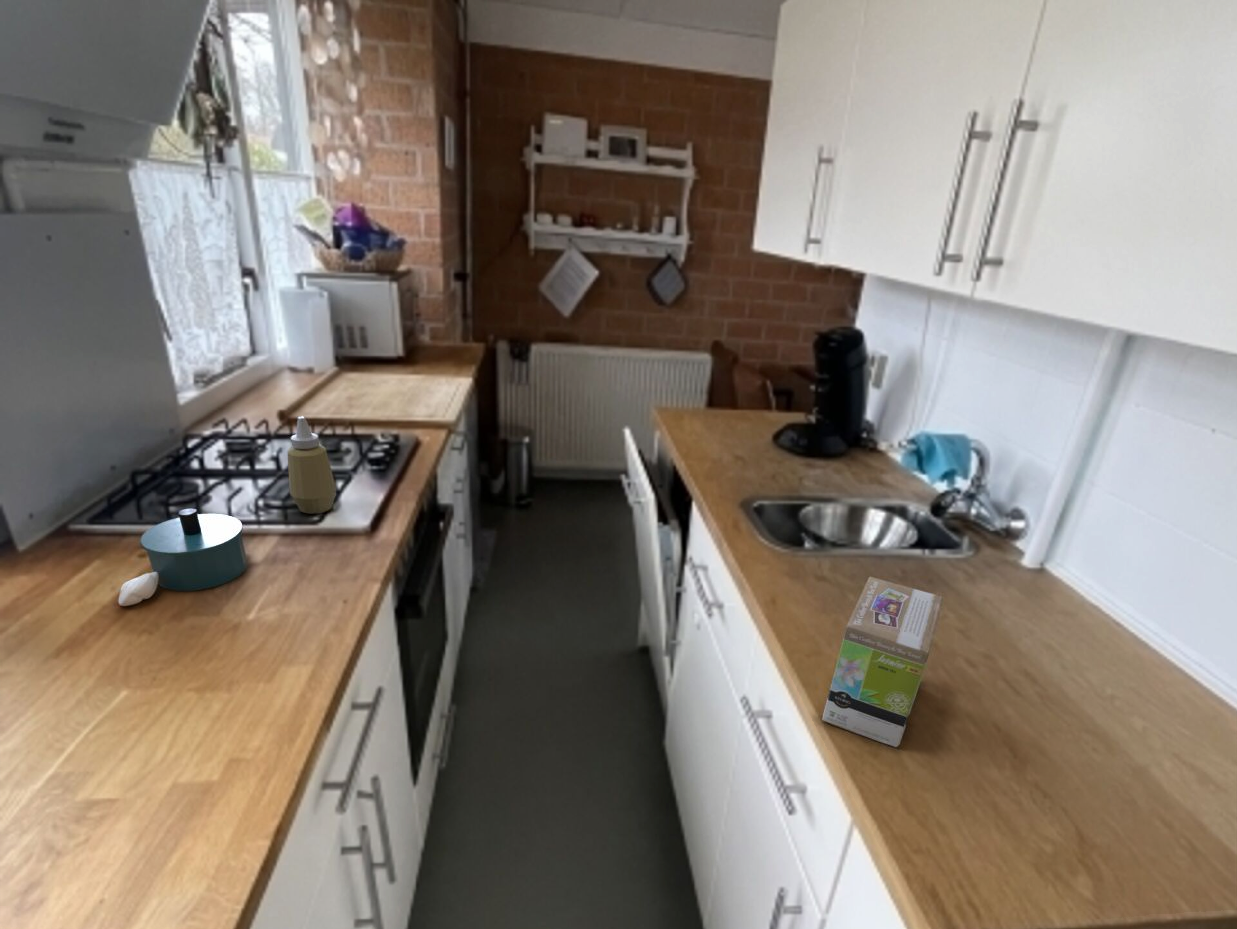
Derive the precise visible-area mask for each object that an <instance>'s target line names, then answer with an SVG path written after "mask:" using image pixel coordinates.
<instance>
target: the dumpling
mask: <svg viewBox="0 0 1237 929" xmlns="http://www.w3.org/2000/svg"><path fill="white" fill-rule="evenodd" d="M158 585H159V584H158V573H157V572H153V571H152V572H146V573H144V574H141V575H140V576H137V577H135V578H132V579H130V580H128V581H126V582H124V583H123V584H122V586H121V588H120V589H119V596H118V601H117V602H118V605H119V606H121V607H127V606H133V605H136V604H139V603H140V602H142V601H143V600H147V599H150V598H151V597H153V595H154V594H155V592H156V590H157V587H158Z"/></svg>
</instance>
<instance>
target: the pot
mask: <svg viewBox="0 0 1237 929" xmlns="http://www.w3.org/2000/svg"><path fill="white" fill-rule="evenodd" d="M245 549H246V548H245V545H244V541H243V536H242V533H241V534H240V535H239V536H238V537H237V538H236V539H235V540H233V541H232V542H230V543H228V544H226V545H224V546H221V547H219V548H216V549H213V550H209V551H205V552H201V553H195V554H188V555H160V554H155V553H151V552H149V551H147V550H146V552H147V556H148V559H149V563H150V567H151V569H152V572H157V573H158V584H157V585H159V586H160V587H162V588H164V589H166V590H170V591H175V592H176V591H177V592H193V591H201V590H206V589H210V588H215V587H217V586H221V585H223V584H226V583H229V582H231V581H233V580H235V579H236V578H238V577H239V576H240V575H242V574H243V573H244V572H245V570H246V569H247V567H248V566H247V565H248V563H247V562H248V558H247V554H246V550H245Z"/></svg>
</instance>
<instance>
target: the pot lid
mask: <svg viewBox="0 0 1237 929" xmlns="http://www.w3.org/2000/svg"><path fill="white" fill-rule="evenodd" d="M242 532H243V524H242V522H241V521H240V520H239V519H237V518H236V517H233V516H230V515H228V514H227V515H226V514H220V513H219V514H218V513H200V514H199V513H198V511H197V509H196V508H185V509H182V510H180V511H178V517H176V518H173V519H172V518H171V519H169V520H166V521H163V522H161V523H158V524H156V525H153V526H152V527H150V528H149V529H147V530H146V531H145V532H143V534H142V535H141V537H140V545H141V547H142V548H143V549H144V550H145V551H146V552H147V551H149V552H151V553H155V554H160V555H188V554H195V553H201V552H205V551H209V550H213V549H216V548H219V547H221V546H224V545H226V544H228V543H230V542H232V541H233V540H235V539H236V538H237V537H238V536H239V535H240V534H241V535H242Z"/></svg>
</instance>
